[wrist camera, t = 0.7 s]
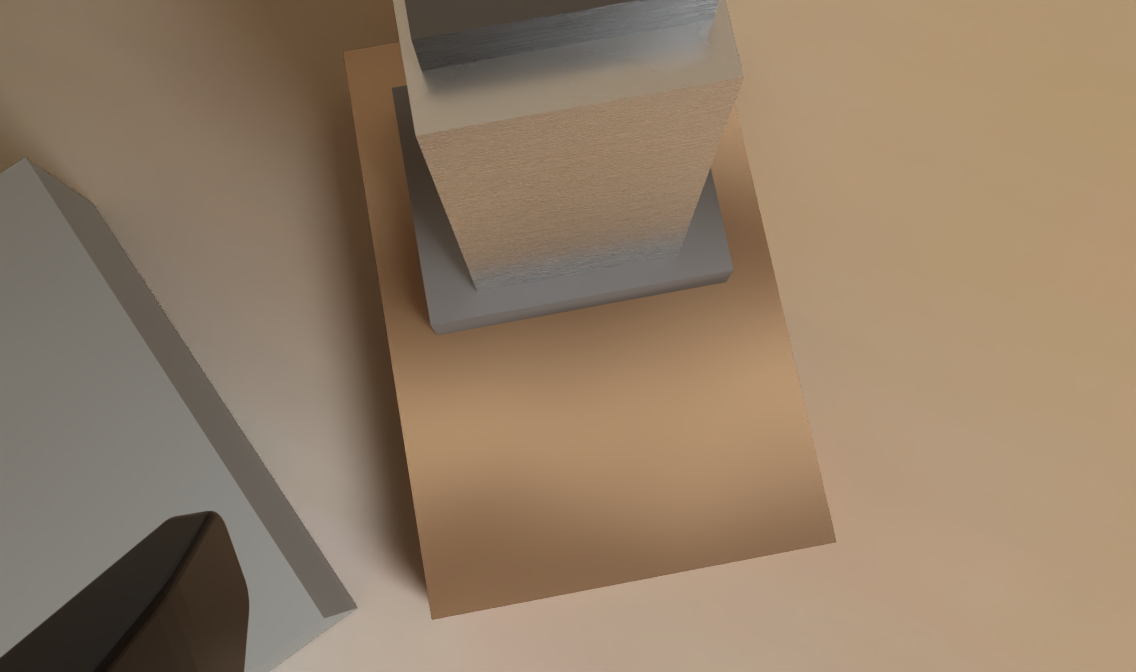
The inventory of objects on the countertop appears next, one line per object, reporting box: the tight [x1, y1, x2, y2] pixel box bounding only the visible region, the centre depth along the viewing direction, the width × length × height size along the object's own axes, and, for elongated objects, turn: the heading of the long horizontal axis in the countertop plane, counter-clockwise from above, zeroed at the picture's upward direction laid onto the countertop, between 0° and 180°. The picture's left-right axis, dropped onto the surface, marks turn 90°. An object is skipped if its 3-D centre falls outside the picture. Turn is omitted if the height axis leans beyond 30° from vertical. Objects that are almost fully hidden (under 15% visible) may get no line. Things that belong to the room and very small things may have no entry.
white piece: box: [393, 0, 744, 292], centre depth 16 cm, size 4×4×9 cm
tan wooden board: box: [343, 42, 836, 620], centre depth 22 cm, size 12×8×3 cm, turn 11°
